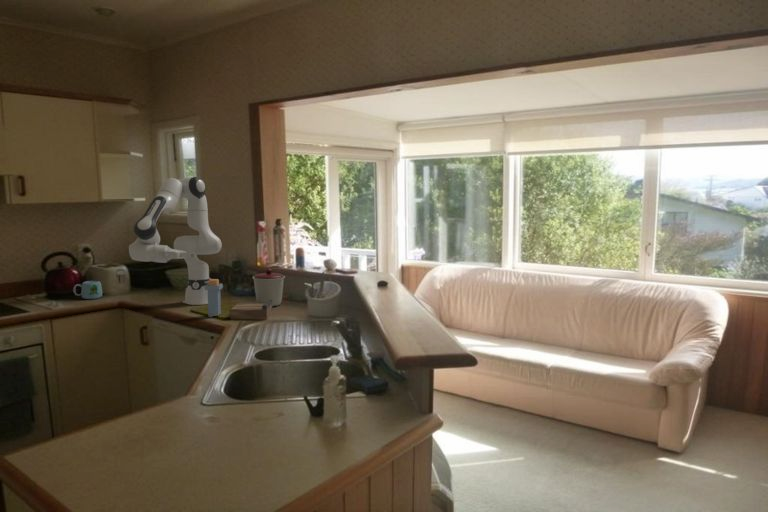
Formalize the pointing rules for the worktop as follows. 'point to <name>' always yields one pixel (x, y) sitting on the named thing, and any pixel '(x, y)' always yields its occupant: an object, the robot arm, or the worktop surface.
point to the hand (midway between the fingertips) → (192, 255)
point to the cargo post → (214, 299)
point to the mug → (90, 290)
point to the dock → (251, 310)
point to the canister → (269, 287)
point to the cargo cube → (213, 282)
